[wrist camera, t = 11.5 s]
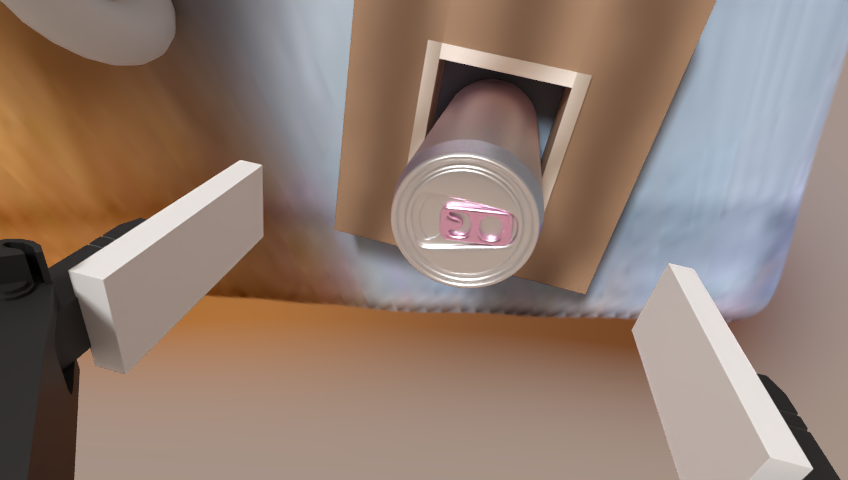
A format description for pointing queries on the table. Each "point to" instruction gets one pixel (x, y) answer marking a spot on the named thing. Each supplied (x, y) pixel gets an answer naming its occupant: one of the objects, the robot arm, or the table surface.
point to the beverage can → (473, 189)
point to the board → (531, 58)
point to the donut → (102, 27)
